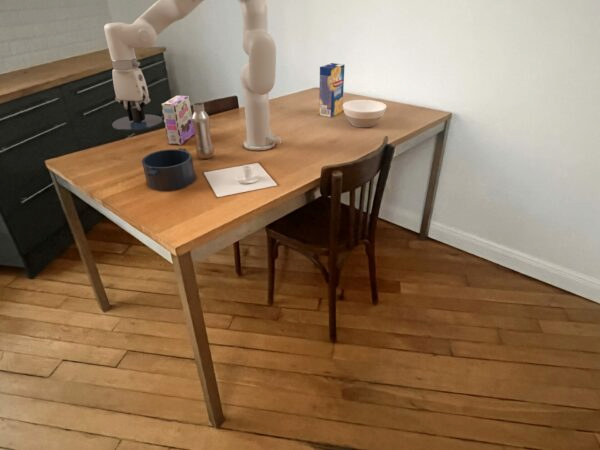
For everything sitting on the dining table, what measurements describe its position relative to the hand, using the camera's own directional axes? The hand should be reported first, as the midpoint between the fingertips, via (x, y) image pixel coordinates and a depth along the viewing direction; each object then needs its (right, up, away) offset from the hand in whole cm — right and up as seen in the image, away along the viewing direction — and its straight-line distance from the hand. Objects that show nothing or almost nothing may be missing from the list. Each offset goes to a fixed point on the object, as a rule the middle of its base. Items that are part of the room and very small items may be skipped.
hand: (137, 119), depth 142 cm
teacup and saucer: (+37, -21, -5) cm, 43 cm away
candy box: (+8, -1, +28) cm, 29 cm away
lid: (0, -1, +1) cm, 1 cm away
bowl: (+86, +9, +42) cm, 96 cm away
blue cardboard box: (+72, +18, +56) cm, 93 cm away
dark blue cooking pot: (+14, -22, -6) cm, 27 cm away
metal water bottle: (+22, -12, +11) cm, 27 cm away
